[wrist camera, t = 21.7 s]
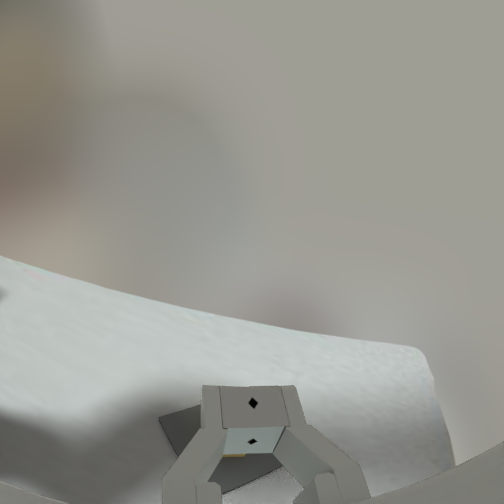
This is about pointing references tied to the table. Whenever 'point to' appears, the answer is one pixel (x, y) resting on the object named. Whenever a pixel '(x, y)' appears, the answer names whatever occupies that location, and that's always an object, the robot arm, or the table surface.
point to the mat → (229, 468)
